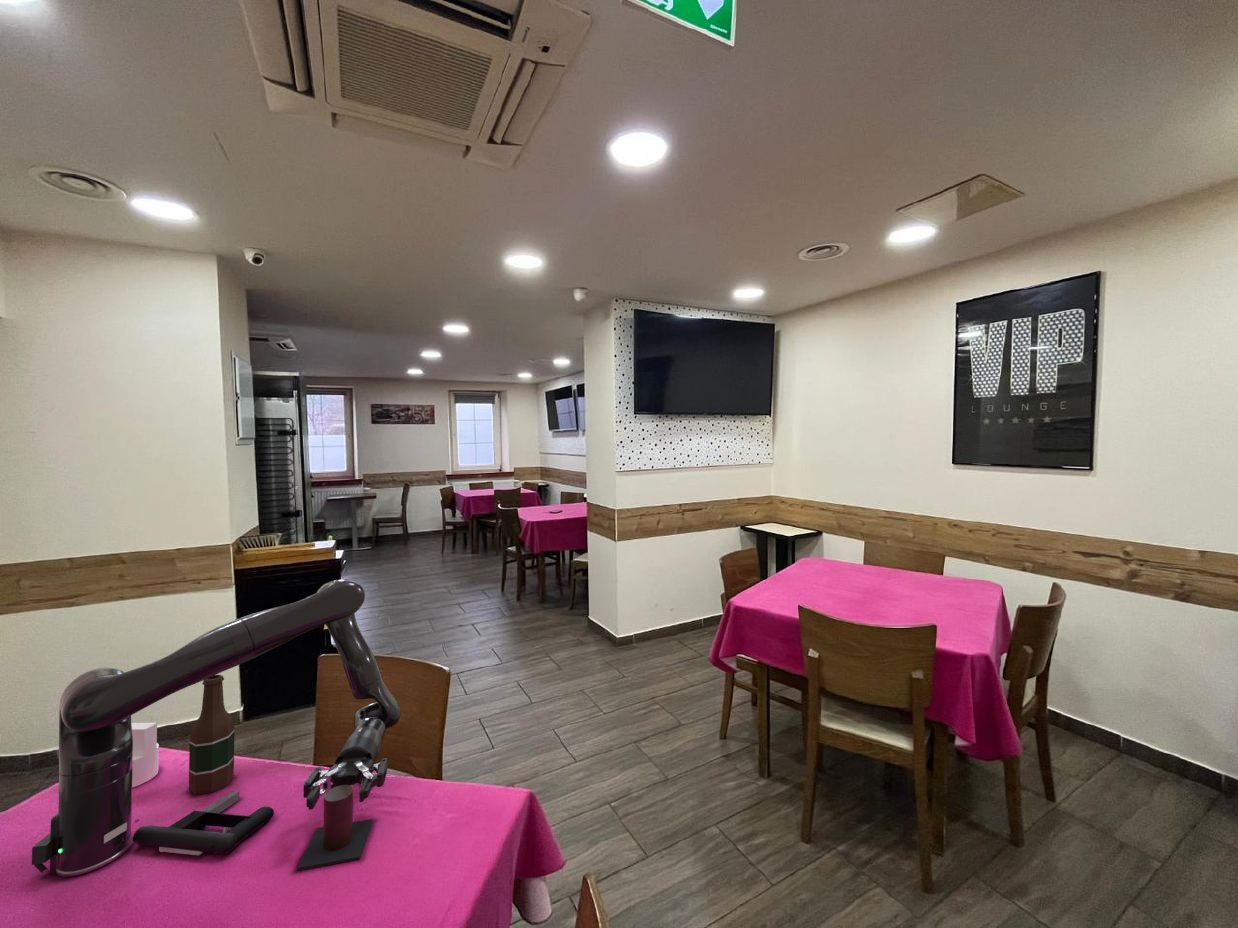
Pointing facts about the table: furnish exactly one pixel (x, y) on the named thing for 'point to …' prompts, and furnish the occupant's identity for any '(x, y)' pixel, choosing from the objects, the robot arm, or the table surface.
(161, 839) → the door handle
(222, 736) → the beer bottle
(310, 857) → the black mat
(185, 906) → the table surface
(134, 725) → the base with upright slab
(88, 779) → the robot arm
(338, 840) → the dark brown cylinder
